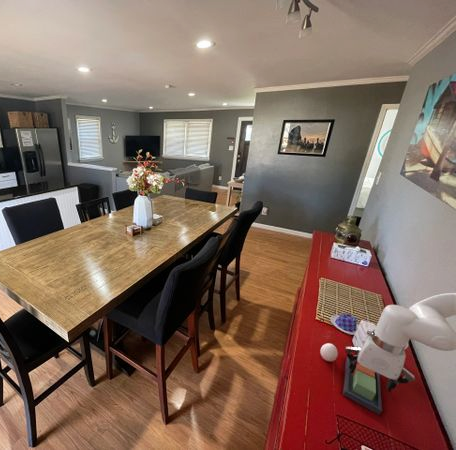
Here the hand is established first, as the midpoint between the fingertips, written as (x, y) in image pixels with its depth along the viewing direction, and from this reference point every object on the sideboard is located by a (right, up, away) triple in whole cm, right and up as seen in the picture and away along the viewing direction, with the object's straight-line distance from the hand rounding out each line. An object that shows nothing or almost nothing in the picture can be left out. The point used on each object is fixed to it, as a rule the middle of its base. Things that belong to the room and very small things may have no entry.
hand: (369, 378), depth 82 cm
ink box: (+13, 0, +18) cm, 22 cm away
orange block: (+4, -3, +7) cm, 9 cm away
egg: (-5, -1, +14) cm, 15 cm away
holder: (+1, -5, +4) cm, 7 cm away
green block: (-1, -5, +2) cm, 6 cm away
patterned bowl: (+16, +5, +30) cm, 34 cm away
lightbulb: (+22, -1, +16) cm, 27 cm away
